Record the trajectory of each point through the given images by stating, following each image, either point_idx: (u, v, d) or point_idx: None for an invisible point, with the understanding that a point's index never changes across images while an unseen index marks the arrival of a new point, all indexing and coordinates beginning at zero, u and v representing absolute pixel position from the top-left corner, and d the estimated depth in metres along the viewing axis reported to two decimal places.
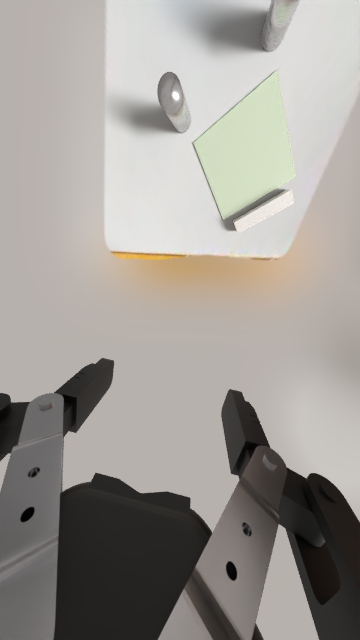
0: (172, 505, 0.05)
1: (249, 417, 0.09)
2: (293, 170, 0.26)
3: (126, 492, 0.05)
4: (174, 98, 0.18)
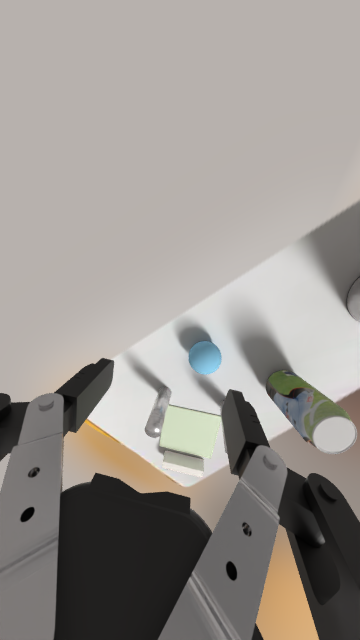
0: (172, 505, 0.05)
1: (249, 417, 0.09)
2: (210, 455, 0.38)
3: (126, 491, 0.05)
4: (154, 434, 0.27)
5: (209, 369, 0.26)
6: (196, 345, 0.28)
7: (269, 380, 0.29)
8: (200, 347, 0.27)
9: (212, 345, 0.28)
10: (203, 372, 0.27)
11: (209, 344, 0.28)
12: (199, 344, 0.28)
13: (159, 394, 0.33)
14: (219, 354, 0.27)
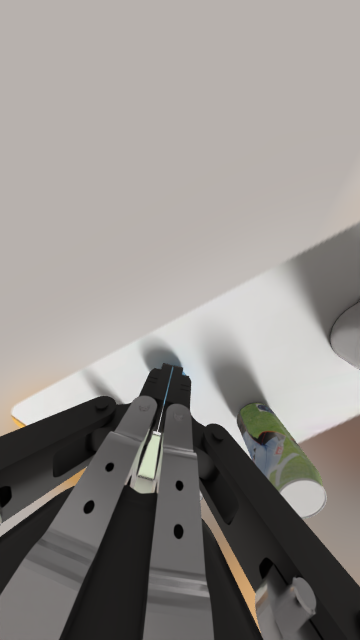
0: None
1: (179, 385, 0.10)
2: None
3: (126, 491, 0.05)
4: None
5: None
6: None
7: (241, 413, 0.27)
8: None
9: None
10: None
11: None
12: None
13: None
14: None
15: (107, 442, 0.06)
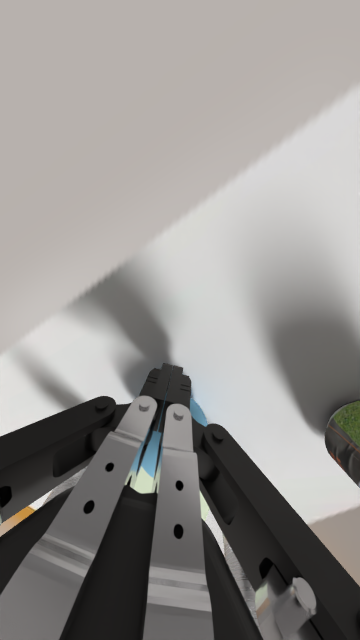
0: None
1: (179, 385, 0.10)
2: None
3: (126, 491, 0.05)
4: None
5: None
6: None
7: (338, 423, 0.12)
8: None
9: None
10: None
11: None
12: (145, 469, 0.11)
13: None
14: None
15: (107, 442, 0.06)
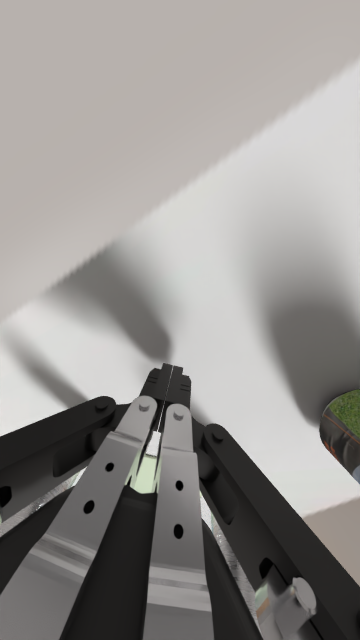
0: None
1: (179, 385, 0.10)
2: None
3: (126, 492, 0.05)
4: None
5: None
6: None
7: (334, 412, 0.12)
8: None
9: None
10: None
11: None
12: None
13: None
14: None
15: (107, 442, 0.06)
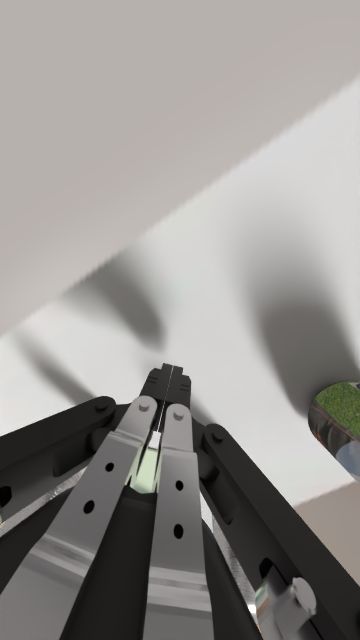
0: None
1: (179, 385, 0.10)
2: None
3: (126, 492, 0.05)
4: None
5: None
6: None
7: (320, 403, 0.13)
8: None
9: None
10: None
11: None
12: None
13: None
14: None
15: (107, 442, 0.06)
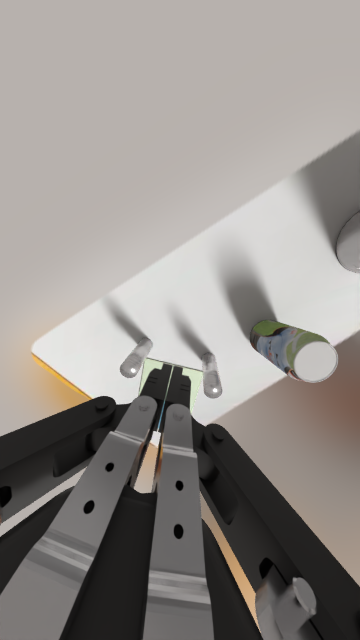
0: None
1: (179, 385, 0.10)
2: None
3: (126, 491, 0.05)
4: (129, 374, 0.25)
5: None
6: None
7: (254, 329, 0.29)
8: None
9: None
10: None
11: None
12: (158, 428, 0.33)
13: (139, 343, 0.31)
14: None
15: (107, 442, 0.06)
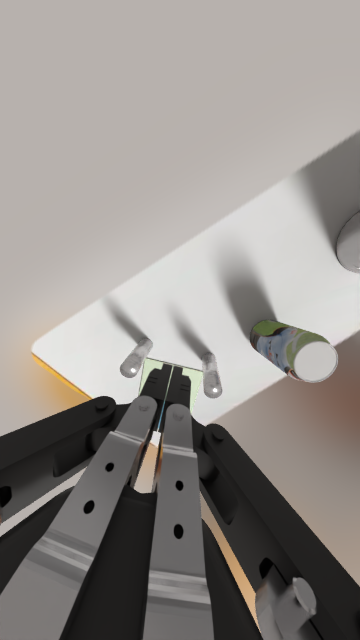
0: None
1: (179, 385, 0.10)
2: None
3: (126, 491, 0.05)
4: (129, 374, 0.25)
5: None
6: None
7: (254, 329, 0.29)
8: None
9: None
10: None
11: None
12: (158, 427, 0.33)
13: (139, 343, 0.31)
14: None
15: (107, 442, 0.06)
